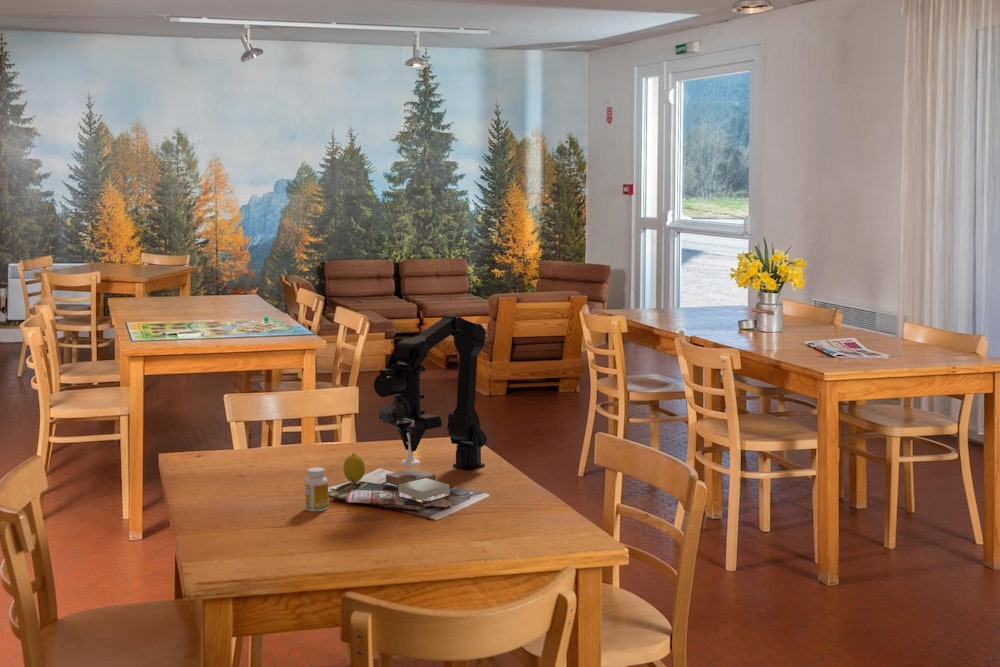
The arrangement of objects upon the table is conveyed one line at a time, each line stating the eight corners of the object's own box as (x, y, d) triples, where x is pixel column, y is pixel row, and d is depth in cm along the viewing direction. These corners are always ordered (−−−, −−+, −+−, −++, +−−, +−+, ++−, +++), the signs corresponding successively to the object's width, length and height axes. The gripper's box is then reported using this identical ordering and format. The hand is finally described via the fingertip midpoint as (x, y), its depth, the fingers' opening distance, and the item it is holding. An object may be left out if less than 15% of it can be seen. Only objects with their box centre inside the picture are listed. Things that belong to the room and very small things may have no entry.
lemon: (354, 479, 291) (354, 449, 290) (369, 483, 288) (369, 453, 287) (339, 484, 287) (338, 453, 286) (354, 487, 283) (353, 457, 282)
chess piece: (399, 462, 286) (398, 424, 285) (417, 461, 287) (417, 423, 286) (403, 467, 281) (402, 428, 280) (422, 465, 283) (421, 427, 281)
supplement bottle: (332, 506, 267) (331, 467, 266) (322, 512, 262) (321, 472, 260) (311, 504, 268) (310, 465, 267) (302, 511, 263) (300, 471, 262)
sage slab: (426, 489, 281) (425, 477, 281) (449, 496, 275) (449, 484, 275) (398, 496, 275) (398, 484, 275) (421, 503, 269) (421, 491, 268)
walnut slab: (413, 479, 291) (412, 468, 291) (435, 485, 285) (435, 474, 284) (386, 485, 285) (385, 474, 285) (408, 492, 279) (408, 480, 278)
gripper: (361, 390, 283) (363, 449, 285) (408, 400, 270) (409, 462, 272) (395, 384, 290) (397, 442, 293) (442, 394, 277) (443, 454, 279)
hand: (410, 450), depth 284 cm, fingers closed on chess piece
